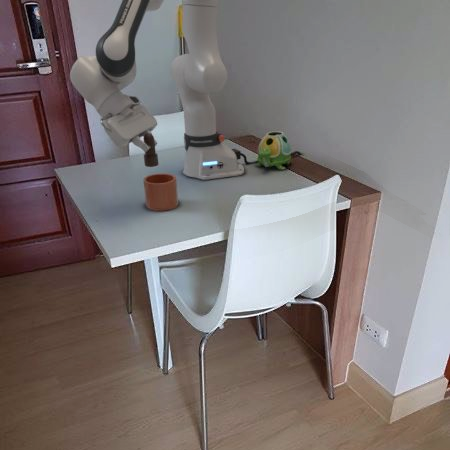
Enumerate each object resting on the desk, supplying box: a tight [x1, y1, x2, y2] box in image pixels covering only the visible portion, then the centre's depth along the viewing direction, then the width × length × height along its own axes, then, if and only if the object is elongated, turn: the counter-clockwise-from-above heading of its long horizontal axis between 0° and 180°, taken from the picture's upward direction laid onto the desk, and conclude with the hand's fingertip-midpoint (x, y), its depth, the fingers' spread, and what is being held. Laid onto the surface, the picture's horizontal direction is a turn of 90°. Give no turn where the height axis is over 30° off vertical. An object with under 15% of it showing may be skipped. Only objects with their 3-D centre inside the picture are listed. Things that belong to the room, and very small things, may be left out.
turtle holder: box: [256, 130, 292, 171], centre depth 181 cm, size 12×18×12 cm
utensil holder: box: [143, 173, 179, 212], centre depth 152 cm, size 10×10×8 cm
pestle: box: [143, 133, 159, 168], centre depth 141 cm, size 4×4×9 cm
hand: (151, 147), depth 140 cm, fingers closed on pestle, 3 cm apart
